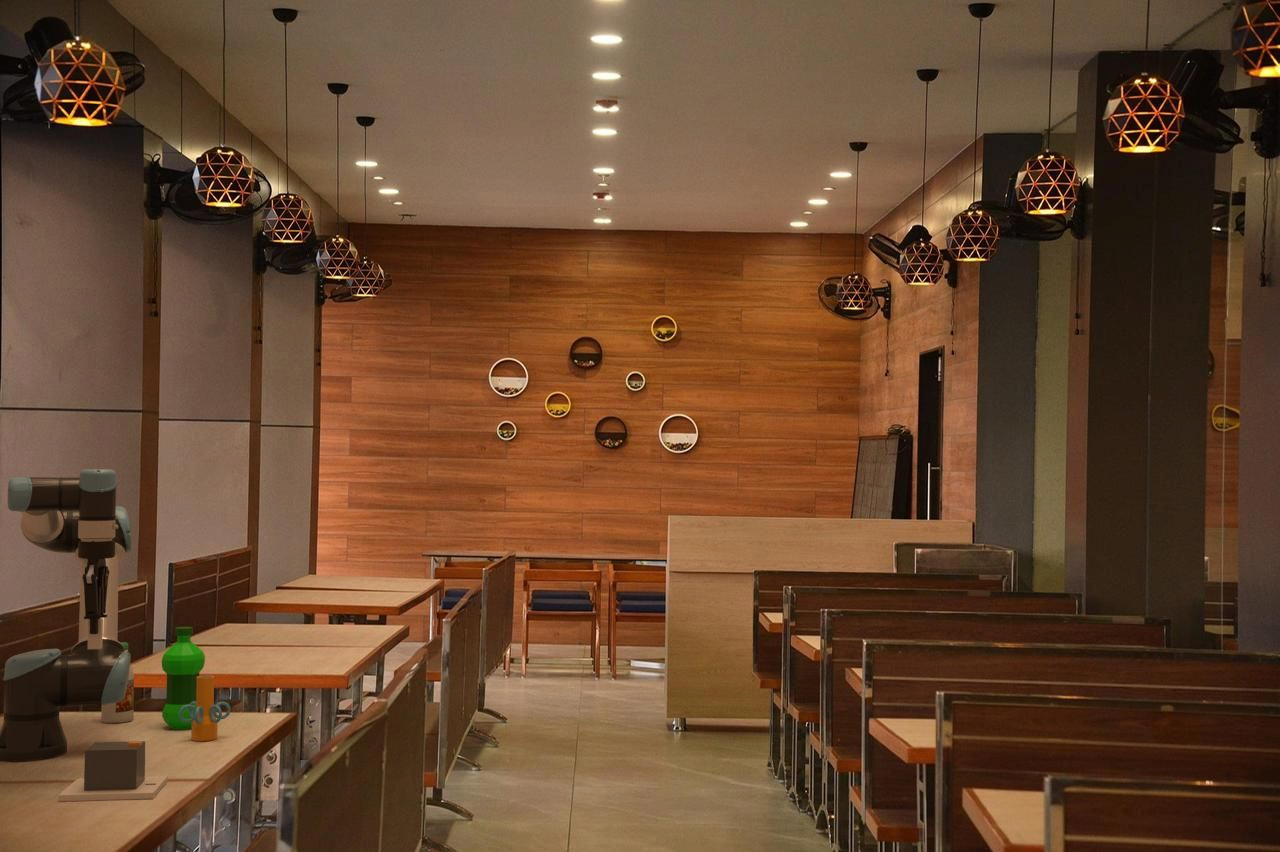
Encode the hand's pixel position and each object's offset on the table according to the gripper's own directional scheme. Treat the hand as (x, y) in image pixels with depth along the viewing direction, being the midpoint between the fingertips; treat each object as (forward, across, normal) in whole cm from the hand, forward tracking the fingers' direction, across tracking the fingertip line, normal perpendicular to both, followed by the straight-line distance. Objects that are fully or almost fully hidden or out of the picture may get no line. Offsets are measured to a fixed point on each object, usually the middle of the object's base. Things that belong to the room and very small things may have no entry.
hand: (95, 648), depth 291 cm
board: (+26, -19, -9) cm, 34 cm away
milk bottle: (+27, +56, +8) cm, 63 cm away
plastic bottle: (+27, +46, -10) cm, 54 cm away
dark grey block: (+25, -19, -9) cm, 33 cm away
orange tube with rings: (+27, +31, -18) cm, 45 cm away
